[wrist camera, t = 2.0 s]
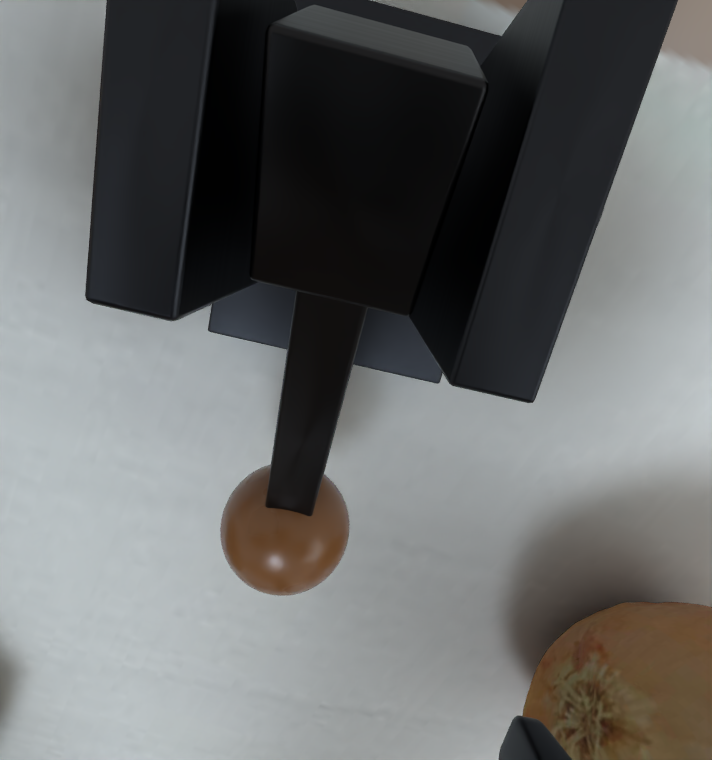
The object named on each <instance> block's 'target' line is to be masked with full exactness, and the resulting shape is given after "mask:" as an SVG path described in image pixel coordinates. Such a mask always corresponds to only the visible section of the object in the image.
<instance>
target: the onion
mask: <svg viewBox="0 0 712 760" xmlns="http://www.w3.org/2000/svg"><path fill="white" fill-rule="evenodd" d="M523 716H524V717H529V718H535V719H538V720H540V721H541V722H542V723H543V724H544V725H545V726H546V728H547V729H548V730H549V731H550V733H551V734H552V735H553V736H554V737H555V739H556V740H557V741H558V742H559V744H560V745H561V746H562V747H563V749H564V750H565V751H566V752H567V754H568V755H569V756H570V757H571V759H572V760H712V607H709V606H704V605H698V604H689V603H678V602H664V603H649V602H634V603H630V602H625V603H621V604H618V605H615V606H613V607H610V608H607V609H604V610H601V611H598V612H596V613H594V614H592V615H590V616H588V617H586V618H584V619H583V620H581V621H579V622H577V623H575V624H574V625H572V626H571V627H570V628H569V629H568V630H567V631H565V632H564V633H563V634H562V635H561V636H560V637H559V638H558V639H557V640H556V641H555V642H554V643H553V644H552V645H551V646H550V647H549V648H548V650H547V651H546V653H545V654H544V656H543V658H542V659H541V661H540V663H539V665H538V667H537V669H536V672H535V674H534V677H533V679H532V682H531V685H530V689H529V691H528V694H527V697H526V702H525V705H524V710H523Z"/></svg>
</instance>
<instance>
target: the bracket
mask: <svg viewBox="0 0 712 760" xmlns="http://www.w3.org/2000/svg"><path fill="white" fill-rule="evenodd" d="M677 1H678V0H527V2H526V3H525V5H524V6H523V7H522V9H521V10H520V12H519V13H518V14H517V16H516V17H515V19H514V20H513V21H512V23H511V24H510V26H509V27H508V28H507V30H506V31H505V33H504V34H503V35H502V36H499V35H495V34H491V33H488V32H484V31H480V30H477V29H473V28H469V27H466V26H462V25H458V24H455V23H451V22H447V21H444V20H440V19H436V18H433V17H429V16H425V15H422V14H418V13H414V12H411V11H407V10H403V9H400V8H396V7H392V6H389V5H385V4H381V3H378V2H374V1H370V0H107V5H106V19H105V33H104V46H103V60H102V74H101V87H100V101H99V115H98V129H97V142H96V156H95V170H94V183H93V197H92V211H91V224H90V238H89V252H88V265H87V279H86V293H85V296H86V300H88V301H90V302H91V303H93V304H97V305H102V306H106V307H110V308H115V309H119V310H124V311H128V312H132V313H137V314H141V315H146V316H150V317H154V318H159V319H163V320H168V321H176V320H179V319H181V318H183V317H185V316H187V315H189V314H191V313H194V312H196V311H198V310H200V309H202V308H204V307H206V306H209V305H211V304H212V307H211V314H210V320H209V327H208V330H209V331H210V332H213V333H217V334H222V335H226V336H231V337H235V338H239V339H244V340H248V341H253V342H257V343H261V344H266V345H270V346H275V347H279V348H283V349H288V343H289V336H290V329H291V322H292V315H293V309H294V302H295V295H296V291H294V290H290V289H286V288H282V287H277V286H273V285H269V284H265V283H260V282H256V281H253V280H252V279H251V278H250V274H249V269H250V254H251V239H252V224H253V210H254V195H255V180H256V165H257V150H258V135H259V121H260V106H261V91H262V76H263V61H264V46H265V32H266V29H267V27H268V25H269V24H270V23H273V22H275V21H277V20H279V19H282V18H284V17H286V16H288V15H291V14H293V13H295V12H297V11H300V10H302V9H304V8H306V7H309V6H312V5H318V6H321V7H325V8H329V9H332V10H336V11H340V12H344V13H347V14H351V15H355V16H358V17H362V18H366V19H369V20H373V21H377V22H380V23H384V24H388V25H392V26H395V27H399V28H403V29H406V30H410V31H414V32H417V33H421V34H425V35H429V36H432V37H436V38H440V39H443V40H447V41H451V42H454V43H458V44H462V45H465V46H468V47H469V48H470V49H471V50H472V52H473V54H474V56H475V58H476V60H477V62H478V64H479V65H480V67H481V69H482V71H483V73H484V75H485V77H486V79H487V81H488V83H489V91H488V94H487V97H486V100H485V103H484V106H483V109H482V112H481V114H480V117H479V120H478V123H477V126H476V129H475V132H474V135H473V138H472V141H471V144H470V147H469V149H468V152H467V155H466V158H465V161H464V164H463V167H462V170H461V173H460V176H459V179H458V182H457V185H456V187H455V190H454V193H453V196H452V199H451V202H450V205H449V208H448V211H447V214H446V217H445V220H444V222H443V225H442V228H441V231H440V234H439V237H438V240H437V243H436V246H435V249H434V252H433V255H432V257H431V260H430V263H429V266H428V269H427V272H426V275H425V278H424V281H423V284H422V287H421V290H420V292H419V295H418V298H417V301H416V304H415V307H414V310H413V312H412V313H411V315H410V316H401V315H397V314H392V313H388V312H384V311H380V310H375V309H371V308H368V309H367V313H366V317H365V321H364V324H363V328H362V332H361V336H360V339H359V343H358V347H357V351H356V354H355V358H354V362H353V364H354V365H358V366H362V367H367V368H371V369H376V370H380V371H384V372H389V373H393V374H398V375H402V376H406V377H411V378H415V379H420V380H424V381H428V382H433V383H439V382H440V380H441V377H442V373H443V374H444V375H445V377H446V379H447V380H448V382H449V384H451V385H452V386H455V387H460V388H464V389H469V390H473V391H477V392H482V393H486V394H491V395H495V396H499V397H504V398H508V399H513V400H517V401H521V402H526V403H533V402H534V400H535V398H536V395H537V392H538V390H539V387H540V384H541V381H542V378H543V376H544V373H545V370H546V367H547V364H548V362H549V359H550V356H551V353H552V350H553V348H554V345H555V342H556V339H557V337H558V334H559V331H560V328H561V325H562V323H563V320H564V317H565V314H566V311H567V309H568V306H569V303H570V300H571V297H572V295H573V292H574V289H575V286H576V284H577V281H578V278H579V275H580V272H581V270H582V267H583V264H584V261H585V258H586V256H587V253H588V250H589V247H590V244H591V242H592V239H593V236H594V233H595V230H596V228H597V226H598V223H599V221H600V218H601V216H602V212H603V209H604V206H605V203H606V200H607V197H608V194H609V191H610V189H611V186H612V183H613V180H614V177H615V175H616V172H617V169H618V166H619V163H620V161H621V158H622V155H623V152H624V150H625V147H626V144H627V141H628V138H629V136H630V133H631V130H632V127H633V124H634V122H635V119H636V116H637V113H638V110H639V108H640V105H641V102H642V99H643V96H644V94H645V91H646V88H647V85H648V83H649V80H650V77H651V74H652V71H653V69H654V66H655V63H656V60H657V57H658V55H659V52H660V49H661V46H662V43H663V40H664V38H665V35H666V32H667V29H668V27H669V24H670V21H671V18H672V16H673V13H674V10H675V7H676V4H677Z"/></svg>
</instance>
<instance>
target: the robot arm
mask: <svg viewBox="0 0 712 760" xmlns="http://www.w3.org/2000/svg"><path fill="white" fill-rule="evenodd" d="M499 760H572V759H571V757H570V756H569V755H568V754H567V752H566V751H565V750H564V749H563V747H562V746H561V745H560V744H559V742H558V741H557V740H556V739H555V737H554V736H553V735H552V734H551V733H550V731H549V730H548V729H547V728H546V726H545V725H544V724H543V723H542V722H541V721H540V720H538V719H535V718H529V717H524V716H516V717H515V718H514V719H513V720H512V722H511V725H510V727H509V729H508V732H507V734H506V736H505V739H504V741H503V743H502V746H501V749H500V753H499Z"/></svg>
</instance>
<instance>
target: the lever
mask: <svg viewBox="0 0 712 760" xmlns="http://www.w3.org/2000/svg"><path fill="white" fill-rule="evenodd" d="M488 91H489V83H488V81H487V79H486V77H485V75H484V73H483V71H482V69H481V67H480V65H479V64H478V62H477V60H476V58H475V56H474V54H473V52H472V50H471V49H470V48H469V47H468V46H465V45H462V44H458V43H454V42H451V41H447V40H443V39H440V38H436V37H432V36H429V35H425V34H421V33H417V32H414V31H410V30H406V29H403V28H399V27H395V26H392V25H388V24H384V23H380V22H377V21H373V20H369V19H366V18H362V17H358V16H355V15H351V14H347V13H344V12H340V11H336V10H332V9H329V8H325V7H321V6H318V5H312V6H309V7H306V8H304V9H302V10H300V11H297V12H295V13H293V14H291V15H288V16H286V17H284V18H282V19H279V20H277V21H275V22H273V23H270V24H269V25H268V27H267V29H266V32H265V46H264V61H263V76H262V91H261V106H260V121H259V135H258V150H257V165H256V180H255V195H254V210H253V224H252V239H251V254H250V269H249V274H250V278H251V279H252V280H253V281H256V282H260V283H265V284H269V285H273V286H277V287H282V288H286V289H290V290H294V291H296V295H295V302H294V309H293V315H292V322H291V329H290V336H289V343H288V350H287V357H286V364H285V371H284V378H283V385H282V392H281V399H280V406H279V412H278V419H277V426H276V433H275V440H274V447H273V454H272V461H271V465H268V466H265V467H262V468H260V469H258V470H256V471H255V472H253V473H251V474H250V475H248V476H247V477H246V478H245V479H244V480H243V481H241V482H240V484H239V485H238V486H237V487H236V488H235V490H234V491H233V492H232V494H231V496H230V497H229V499H228V501H227V504H226V506H225V508H224V511H223V515H222V520H221V528H220V532H221V543H222V549H223V552H224V554H225V557H226V560H227V562H228V563H229V565H230V567H231V569H232V570H233V571H234V572H235V574H236V575H237V576H238V577H239V578H240V579H241V580H242V581H243V582H244V583H246V584H247V585H248V586H250V587H252V588H254V589H256V590H258V591H260V592H263V593H266V594H270V595H278V596H285V595H294V594H298V593H302V592H305V591H307V590H309V589H311V588H313V587H315V586H317V585H318V584H320V583H321V582H322V581H324V580H325V579H326V578H327V577H328V576H329V575H330V574H331V573H332V572H333V571H334V569H335V568H336V567H337V565H338V564H339V562H340V560H341V558H342V556H343V554H344V552H345V549H346V546H347V542H348V537H349V515H348V510H347V507H346V503H345V501H344V499H343V497H342V494H341V493H340V491H339V490H338V488H337V487H336V485H335V484H334V483H333V482H332V481H331V480H330V479H329V478H328V477H327V476H326V475H324V471H325V467H326V463H327V459H328V456H329V452H330V448H331V444H332V441H333V437H334V433H335V429H336V426H337V422H338V418H339V414H340V411H341V407H342V403H343V399H344V396H345V392H346V388H347V384H348V381H349V377H350V373H351V369H352V366H353V362H354V358H355V354H356V351H357V347H358V343H359V339H360V336H361V332H362V328H363V324H364V321H365V317H366V313H367V309H368V308H371V309H375V310H380V311H384V312H388V313H392V314H397V315H401V316H410V315H411V313H412V312H413V310H414V307H415V304H416V301H417V298H418V295H419V292H420V290H421V287H422V284H423V281H424V278H425V275H426V272H427V269H428V266H429V263H430V260H431V257H432V255H433V252H434V249H435V246H436V243H437V240H438V237H439V234H440V231H441V228H442V225H443V222H444V220H445V217H446V214H447V211H448V208H449V205H450V202H451V199H452V196H453V193H454V190H455V187H456V185H457V182H458V179H459V176H460V173H461V170H462V167H463V164H464V161H465V158H466V155H467V152H468V149H469V147H470V144H471V141H472V138H473V135H474V132H475V129H476V126H477V123H478V120H479V117H480V114H481V112H482V109H483V106H484V103H485V100H486V97H487V94H488Z"/></svg>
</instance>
